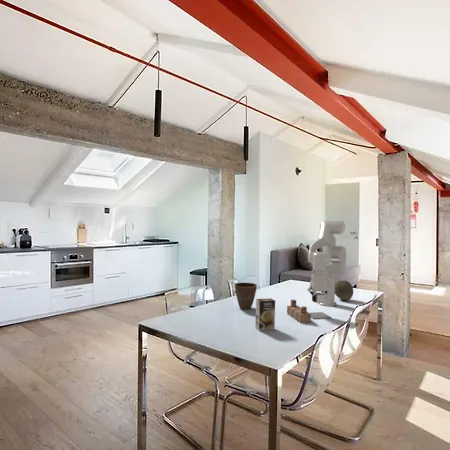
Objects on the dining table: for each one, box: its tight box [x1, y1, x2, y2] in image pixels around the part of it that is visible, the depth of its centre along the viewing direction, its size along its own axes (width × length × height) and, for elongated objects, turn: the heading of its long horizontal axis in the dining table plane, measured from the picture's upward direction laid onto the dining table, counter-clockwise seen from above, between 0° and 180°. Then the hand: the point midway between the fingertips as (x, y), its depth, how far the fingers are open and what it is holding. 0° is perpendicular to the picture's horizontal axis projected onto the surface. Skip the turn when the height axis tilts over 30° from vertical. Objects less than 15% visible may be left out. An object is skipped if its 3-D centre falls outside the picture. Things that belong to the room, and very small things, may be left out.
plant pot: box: [234, 282, 258, 311], centre depth 230 cm, size 15×15×16 cm
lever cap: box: [314, 291, 325, 304], centre depth 214 cm, size 7×5×6 cm
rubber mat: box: [309, 311, 333, 320], centre depth 214 cm, size 12×12×1 cm
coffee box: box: [254, 297, 276, 332], centre depth 187 cm, size 9×6×16 cm
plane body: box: [286, 299, 312, 323], centre depth 210 cm, size 20×7×9 cm, turn 11°
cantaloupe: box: [335, 280, 354, 301], centre depth 259 cm, size 14×14×15 cm
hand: (318, 301), depth 214 cm, fingers closed on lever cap, 5 cm apart
